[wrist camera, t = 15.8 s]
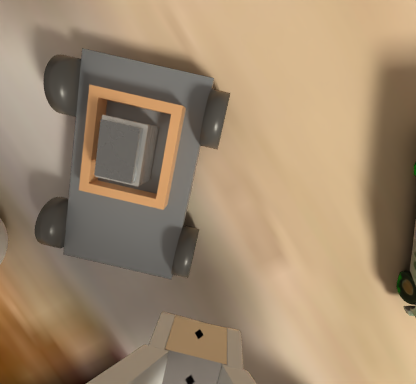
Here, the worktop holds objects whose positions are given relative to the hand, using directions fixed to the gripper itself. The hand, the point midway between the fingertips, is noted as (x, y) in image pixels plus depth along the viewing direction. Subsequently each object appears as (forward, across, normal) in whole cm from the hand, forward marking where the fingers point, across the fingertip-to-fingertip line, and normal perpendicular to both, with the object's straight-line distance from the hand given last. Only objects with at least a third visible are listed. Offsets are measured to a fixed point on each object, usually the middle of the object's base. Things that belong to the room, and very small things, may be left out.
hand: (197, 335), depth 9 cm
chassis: (+22, +11, -2) cm, 25 cm away
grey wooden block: (+19, +10, -4) cm, 22 cm away
